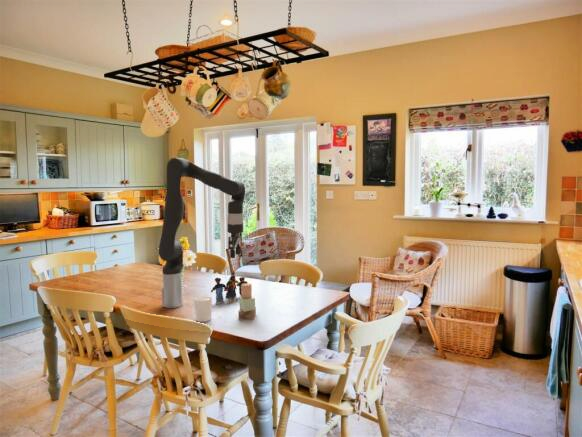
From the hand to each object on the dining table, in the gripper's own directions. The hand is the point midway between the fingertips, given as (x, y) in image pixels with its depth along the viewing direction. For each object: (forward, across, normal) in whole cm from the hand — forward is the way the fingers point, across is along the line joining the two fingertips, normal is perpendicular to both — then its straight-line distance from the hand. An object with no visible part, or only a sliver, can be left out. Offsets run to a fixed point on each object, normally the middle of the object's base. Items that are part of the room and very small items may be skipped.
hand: (235, 256), depth 200 cm
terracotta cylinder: (+18, +6, +8) cm, 20 cm away
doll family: (+28, -18, -9) cm, 34 cm away
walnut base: (+28, +7, +8) cm, 29 cm away
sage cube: (+23, +7, +8) cm, 26 cm away
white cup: (+28, +13, -11) cm, 33 cm away
